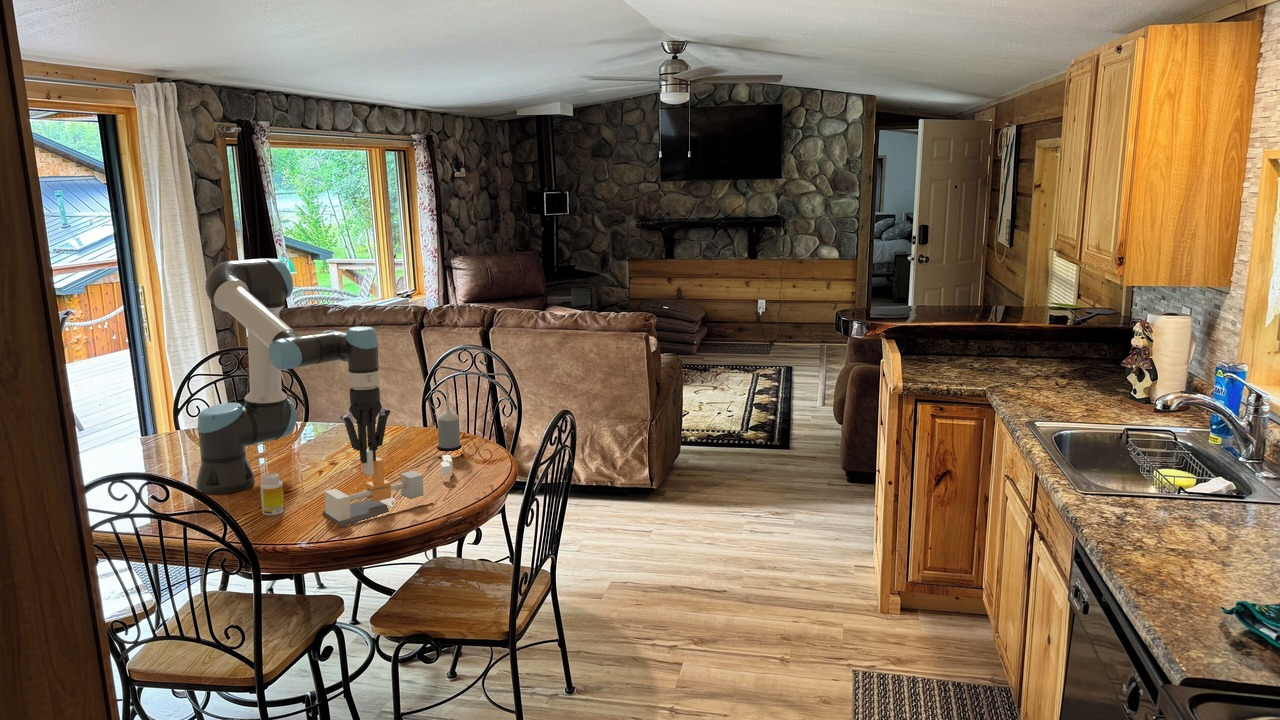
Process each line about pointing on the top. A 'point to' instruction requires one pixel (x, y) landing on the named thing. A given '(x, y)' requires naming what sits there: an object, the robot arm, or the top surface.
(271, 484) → the supplement bottle
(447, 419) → the grey bottle
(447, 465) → the white blocky piece
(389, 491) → the orange rod slider
